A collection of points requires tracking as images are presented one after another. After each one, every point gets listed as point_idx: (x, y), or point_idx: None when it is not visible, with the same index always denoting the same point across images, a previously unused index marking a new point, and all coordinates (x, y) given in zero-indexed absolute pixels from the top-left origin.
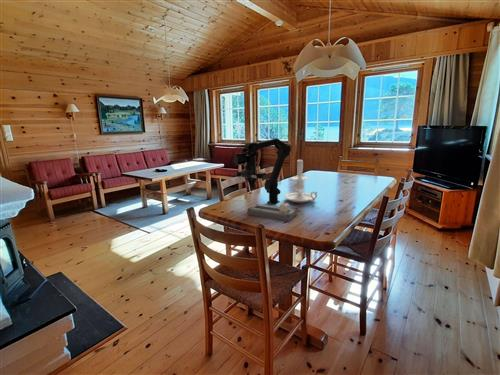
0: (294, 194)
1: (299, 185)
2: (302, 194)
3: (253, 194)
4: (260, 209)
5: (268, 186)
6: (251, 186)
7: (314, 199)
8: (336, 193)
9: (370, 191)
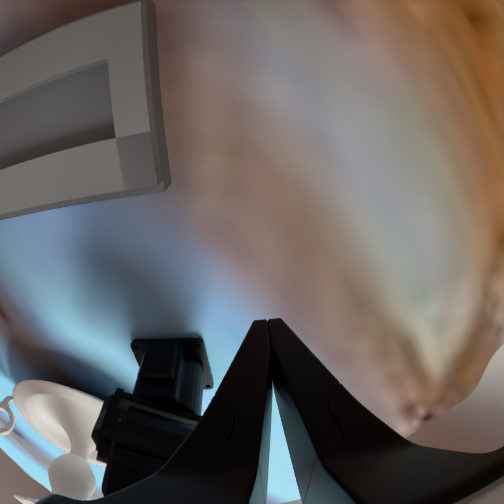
0: None
1: (53, 478)
2: None
3: (386, 408)
4: (27, 67)
5: (147, 453)
6: (255, 341)
7: (2, 402)
8: None
9: None
